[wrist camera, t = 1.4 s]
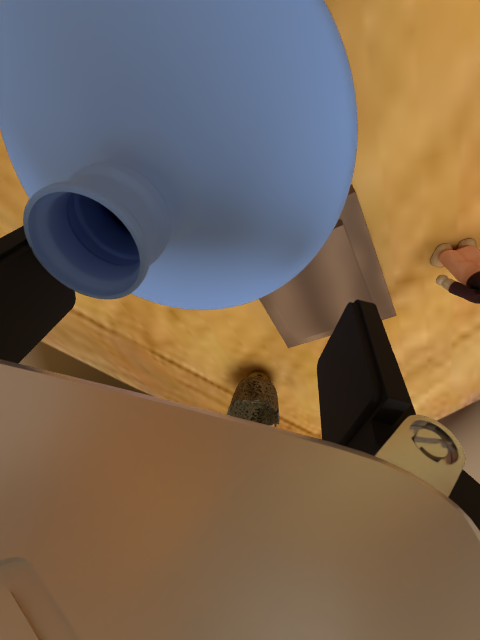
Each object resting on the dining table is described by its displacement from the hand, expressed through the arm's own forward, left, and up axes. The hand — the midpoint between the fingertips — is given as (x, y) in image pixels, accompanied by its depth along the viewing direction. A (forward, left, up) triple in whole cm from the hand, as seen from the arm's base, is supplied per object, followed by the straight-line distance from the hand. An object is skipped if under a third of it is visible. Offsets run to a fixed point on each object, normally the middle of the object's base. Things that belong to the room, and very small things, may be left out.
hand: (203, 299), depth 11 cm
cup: (+15, +29, -27) cm, 42 cm away
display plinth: (0, +15, -27) cm, 30 cm away
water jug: (+1, -4, -27) cm, 27 cm away
